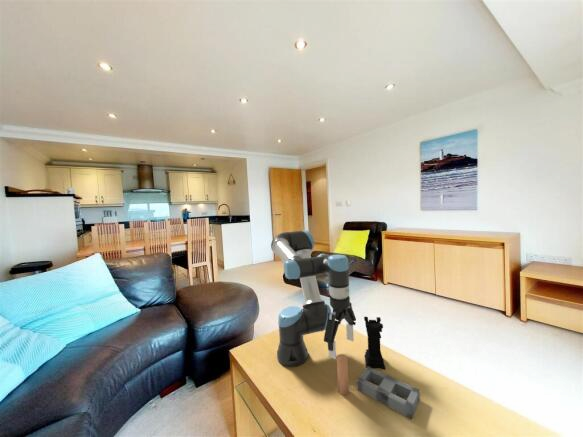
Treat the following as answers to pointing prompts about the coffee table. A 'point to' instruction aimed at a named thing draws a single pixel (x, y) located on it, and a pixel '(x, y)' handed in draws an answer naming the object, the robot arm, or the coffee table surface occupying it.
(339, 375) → the dowel
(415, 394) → the socket board
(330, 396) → the coffee table surface
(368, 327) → the chess piece
